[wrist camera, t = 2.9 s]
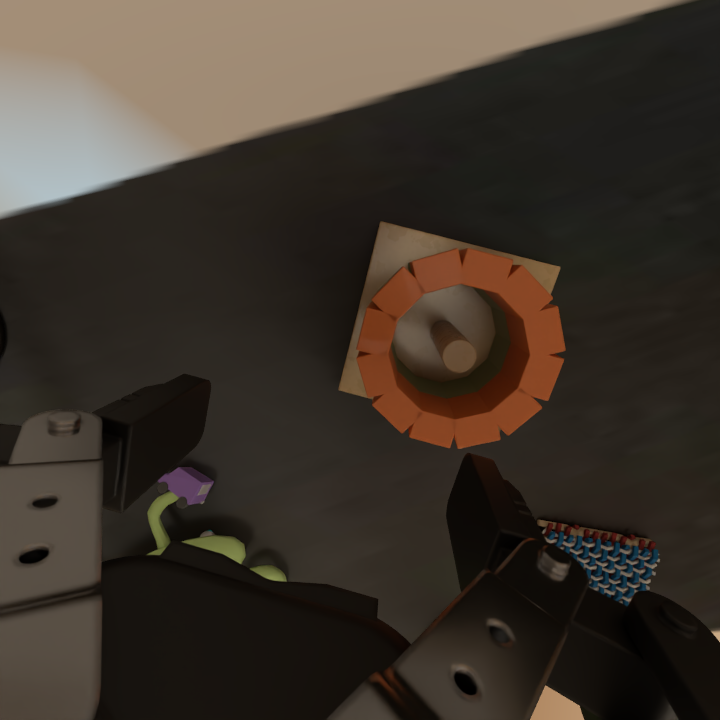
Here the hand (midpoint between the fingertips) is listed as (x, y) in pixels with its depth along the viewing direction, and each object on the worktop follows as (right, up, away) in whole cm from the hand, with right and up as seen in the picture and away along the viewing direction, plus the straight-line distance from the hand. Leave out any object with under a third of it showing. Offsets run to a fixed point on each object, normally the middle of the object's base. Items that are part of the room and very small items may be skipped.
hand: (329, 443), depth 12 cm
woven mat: (+22, -17, +25) cm, 37 cm away
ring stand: (+8, +5, +21) cm, 23 cm away
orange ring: (+7, +4, +15) cm, 17 cm away
